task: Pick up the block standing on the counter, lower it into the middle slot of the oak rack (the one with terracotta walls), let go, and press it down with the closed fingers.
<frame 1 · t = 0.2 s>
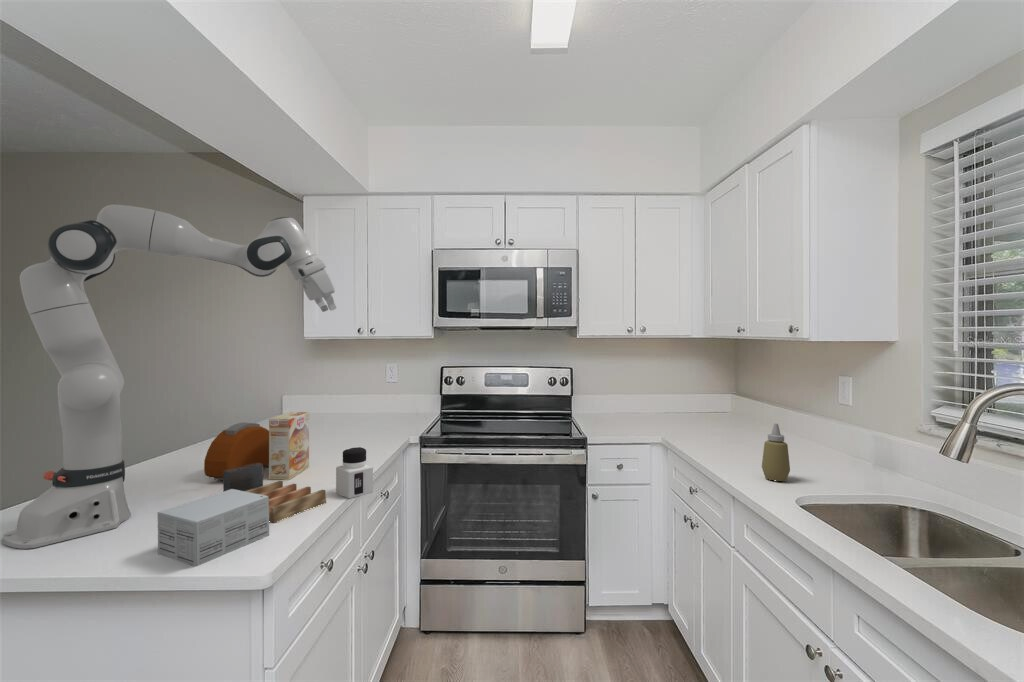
hand: (329, 310, 150), 54 cm above the worktop, tool tilted 30°, fingers open, 8 cm apart
squeeze bottle: (775, 480, 156), on the worktop
coffeecake box: (290, 473, 161), on the worktop
supplement box: (215, 546, 106), on the worktop
block: (243, 495, 140), on the worktop
container: (354, 493, 142), on the worktop
brown rounded piece: (243, 473, 162), on the worktop
rack: (277, 506, 130), on the worktop
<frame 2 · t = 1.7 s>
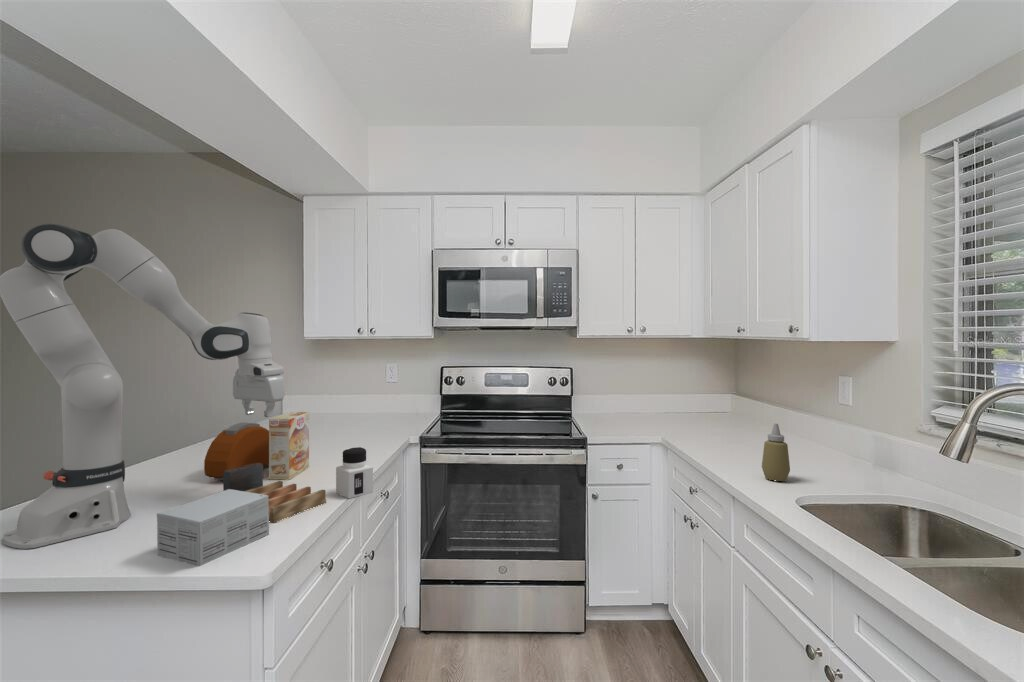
hand: (259, 415, 141), 22 cm above the worktop, tool pointing down, fingers open, 8 cm apart
nothing on the worktop moved.
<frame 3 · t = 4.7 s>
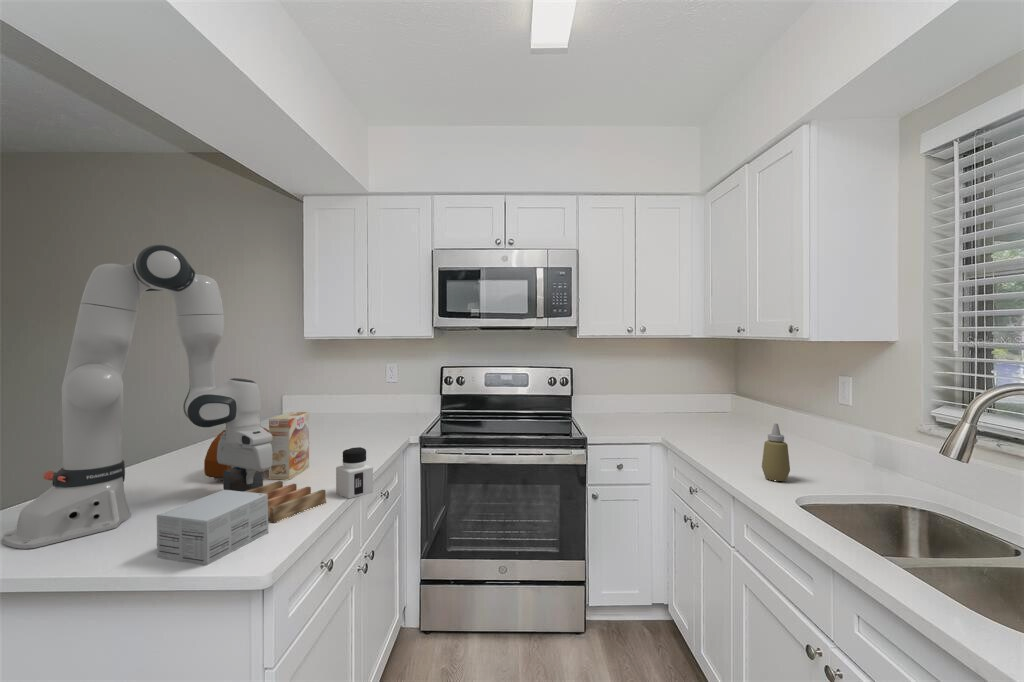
hand: (243, 482, 140), 4 cm above the worktop, tool pointing down, fingers closed on block, 3 cm apart
block: (243, 494, 140), on the worktop, touching gripper
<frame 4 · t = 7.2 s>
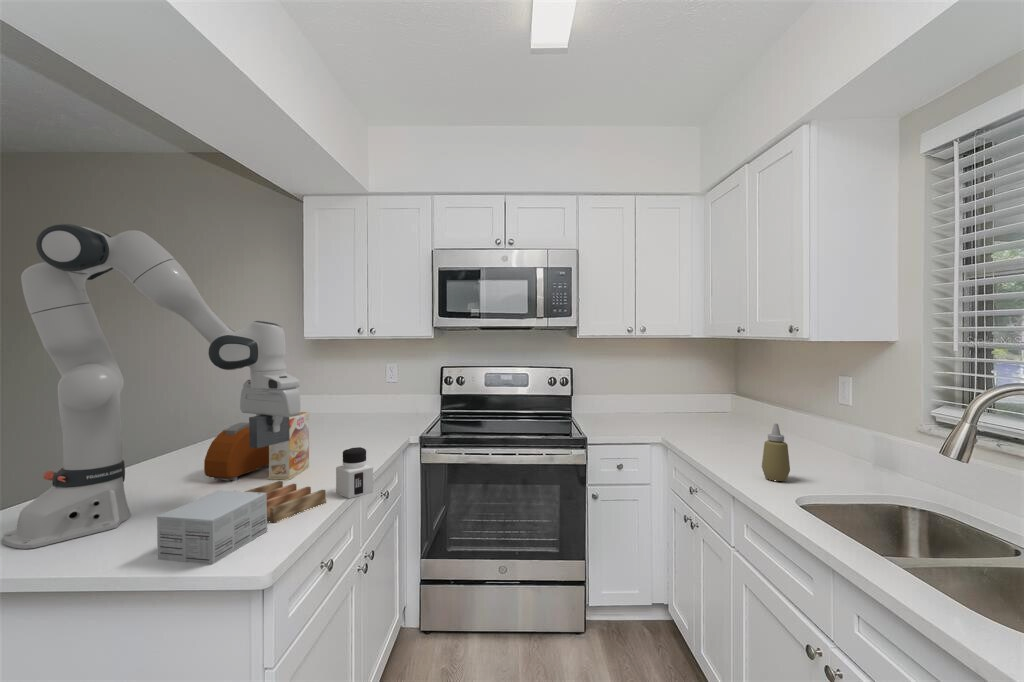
hand: (269, 431, 133), 20 cm above the worktop, tool pointing down, fingers closed on block, 3 cm apart
block: (270, 443, 133), point 16 cm above the worktop, touching gripper
when the fingers open (6 cm above the worktop, at t = 9.6 s): block drops 1 cm, resting on rack.
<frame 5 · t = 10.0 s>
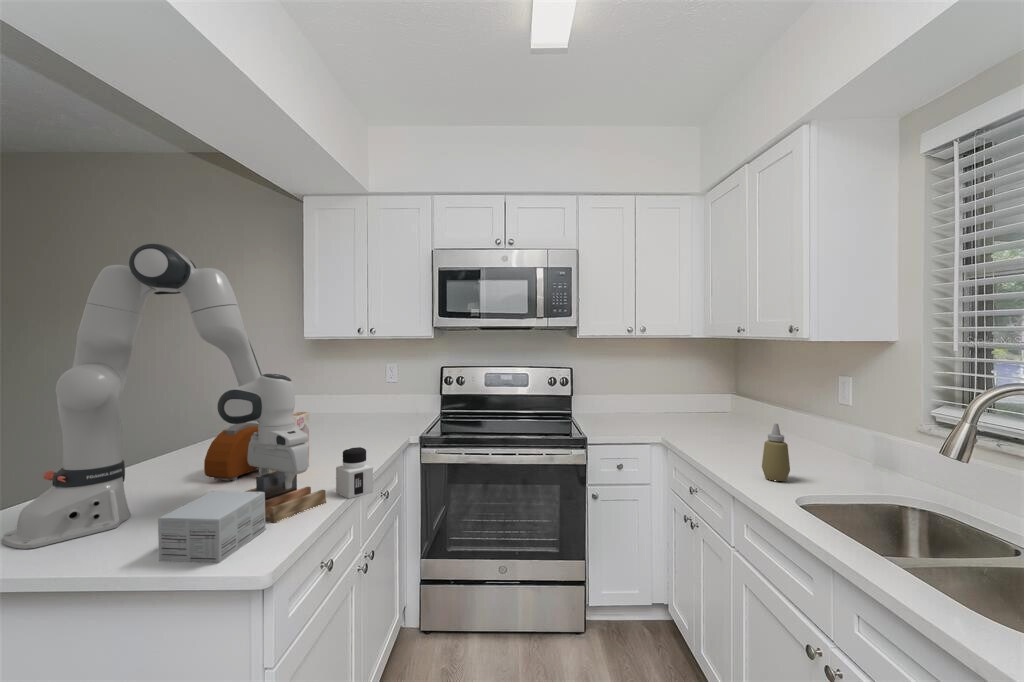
hand: (276, 486, 130), 5 cm above the worktop, tool pointing down, fingers open, 7 cm apart
block: (277, 502, 130), point 1 cm above the worktop, touching rack
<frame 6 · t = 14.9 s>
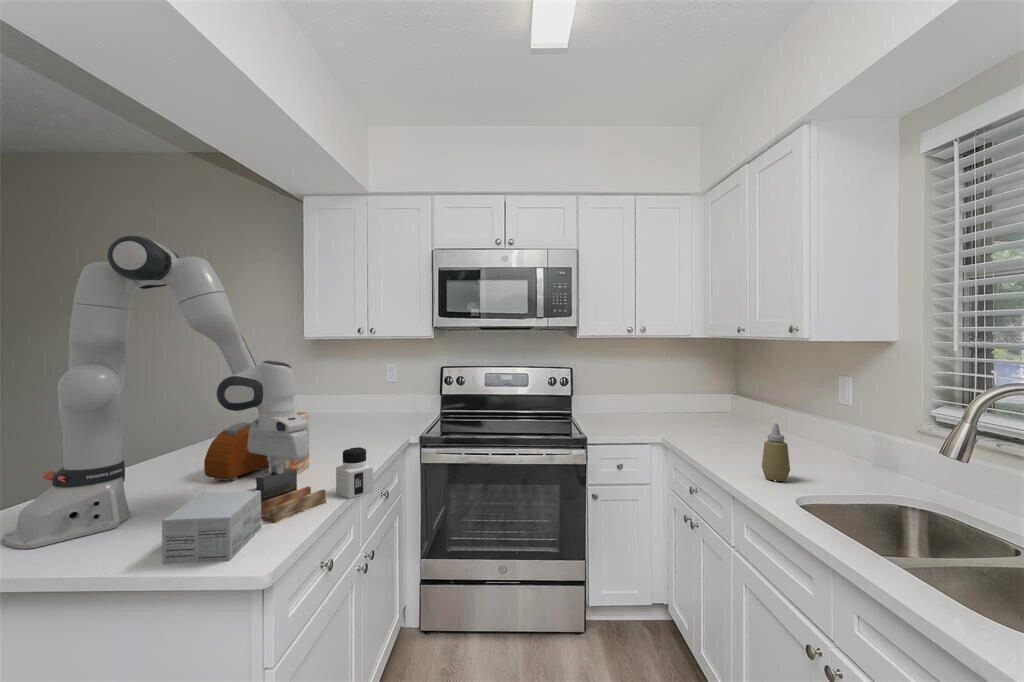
hand: (276, 472, 130), 9 cm above the worktop, tool pointing down, fingers closed, pressing on block
block: (277, 502, 130), point 1 cm above the worktop, touching gripper, rack
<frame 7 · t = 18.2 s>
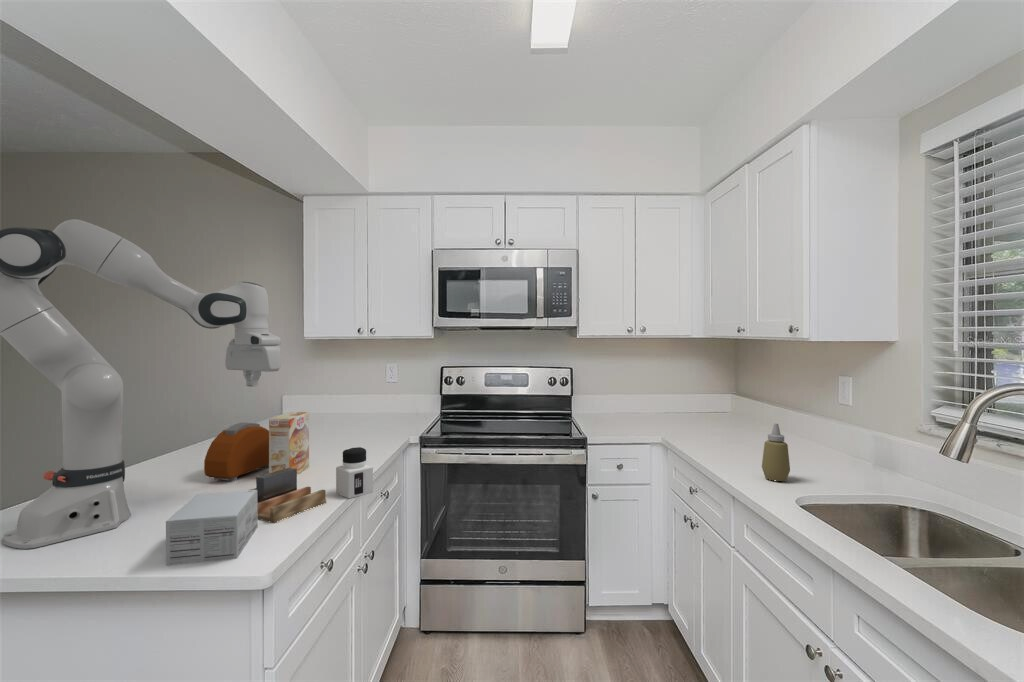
hand: (252, 386, 141), 31 cm above the worktop, tool pointing down, fingers closed
block: (277, 502, 130), point 1 cm above the worktop, touching rack
at the end: block 0.1 cm off-centre on the rack, point 1.0 cm above the rack's base; block tilted 0°; the gripper is holding nothing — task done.
